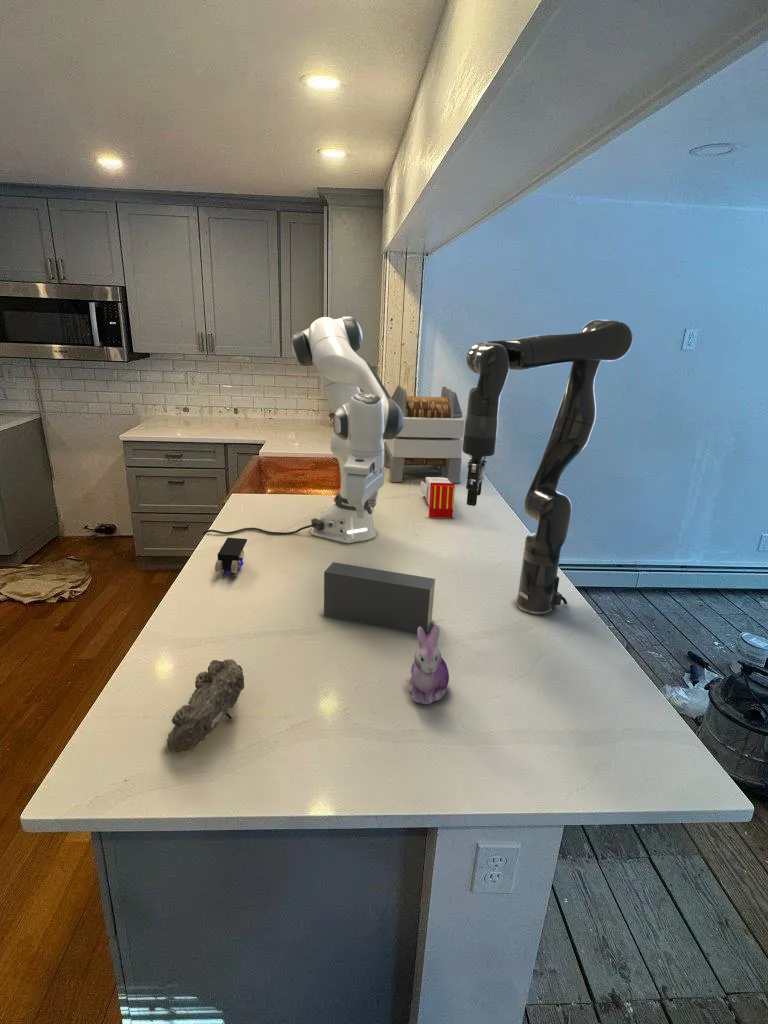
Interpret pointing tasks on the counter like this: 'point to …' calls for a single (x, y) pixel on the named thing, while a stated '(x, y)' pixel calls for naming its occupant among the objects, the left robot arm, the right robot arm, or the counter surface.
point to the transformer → (427, 435)
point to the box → (378, 597)
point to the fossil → (206, 705)
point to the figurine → (428, 669)
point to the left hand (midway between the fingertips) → (366, 511)
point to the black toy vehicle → (230, 556)
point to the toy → (439, 496)
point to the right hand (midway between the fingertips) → (473, 499)
